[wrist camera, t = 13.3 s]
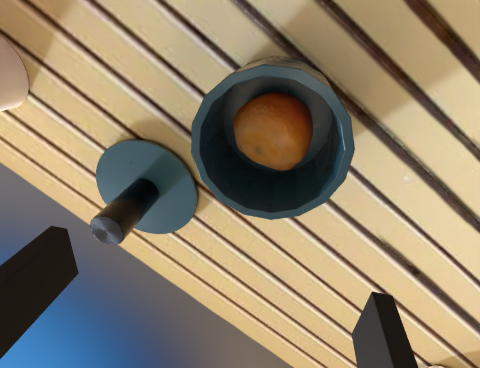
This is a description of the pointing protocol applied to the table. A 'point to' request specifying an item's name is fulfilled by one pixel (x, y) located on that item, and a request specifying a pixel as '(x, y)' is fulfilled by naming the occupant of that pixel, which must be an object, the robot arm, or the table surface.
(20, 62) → the cylinder container
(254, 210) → the pot
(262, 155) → the fruit
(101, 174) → the lid
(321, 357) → the table surface
